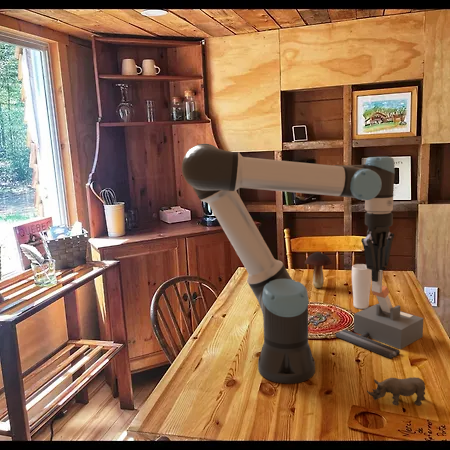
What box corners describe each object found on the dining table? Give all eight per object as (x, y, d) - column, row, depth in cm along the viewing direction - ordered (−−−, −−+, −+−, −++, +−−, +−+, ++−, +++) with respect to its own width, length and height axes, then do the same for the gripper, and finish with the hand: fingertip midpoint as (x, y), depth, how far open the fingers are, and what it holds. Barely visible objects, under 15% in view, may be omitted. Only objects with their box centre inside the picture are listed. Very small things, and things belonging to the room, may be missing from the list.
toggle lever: (393, 318, 134) (382, 292, 129) (381, 314, 137) (371, 289, 132) (397, 312, 135) (387, 286, 130) (385, 309, 138) (375, 283, 133)
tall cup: (368, 303, 163) (369, 263, 160) (372, 310, 156) (373, 269, 153) (349, 303, 163) (350, 264, 160) (353, 310, 157) (353, 269, 154)
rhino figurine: (363, 397, 105) (364, 373, 104) (422, 395, 105) (423, 372, 104) (368, 407, 101) (369, 383, 100) (429, 406, 101) (431, 382, 100)
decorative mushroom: (299, 286, 184) (299, 251, 181) (321, 281, 189) (321, 247, 186) (315, 294, 174) (315, 257, 171) (338, 289, 179) (338, 253, 176)
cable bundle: (391, 359, 122) (391, 355, 121) (334, 336, 137) (334, 332, 137) (407, 350, 126) (407, 346, 126) (350, 329, 142) (350, 325, 141)
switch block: (400, 349, 127) (401, 318, 125) (353, 331, 140) (354, 303, 138) (422, 336, 134) (423, 307, 133) (376, 321, 147) (376, 293, 145)
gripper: (377, 215, 119) (375, 299, 123) (403, 210, 127) (400, 289, 131) (353, 213, 125) (352, 293, 129) (380, 208, 133) (378, 283, 137)
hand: (376, 291), depth 130 cm, fingers closed
